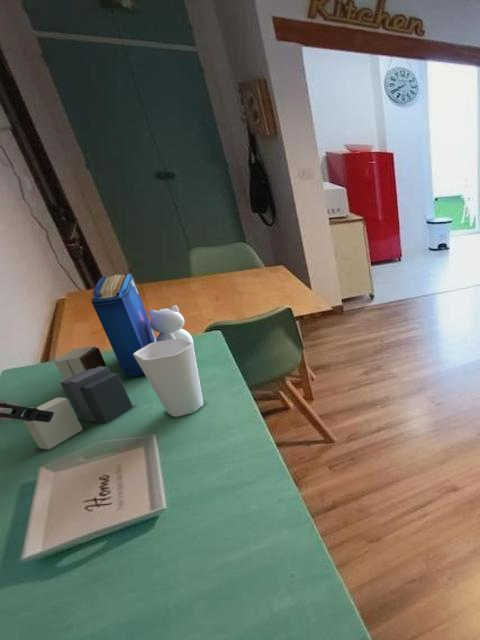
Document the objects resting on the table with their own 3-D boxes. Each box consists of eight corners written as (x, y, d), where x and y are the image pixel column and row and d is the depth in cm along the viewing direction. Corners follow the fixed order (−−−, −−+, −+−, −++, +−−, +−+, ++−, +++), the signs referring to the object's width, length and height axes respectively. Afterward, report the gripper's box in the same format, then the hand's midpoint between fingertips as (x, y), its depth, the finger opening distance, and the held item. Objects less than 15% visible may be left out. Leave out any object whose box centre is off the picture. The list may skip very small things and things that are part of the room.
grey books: (77, 419, 100) (57, 380, 96) (108, 403, 107) (90, 365, 102) (105, 423, 99) (85, 383, 95) (134, 406, 106) (117, 368, 101)
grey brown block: (68, 390, 111) (53, 359, 107) (85, 376, 118) (72, 347, 114) (96, 387, 113) (82, 357, 109) (112, 374, 119) (99, 346, 115)
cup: (155, 425, 99) (128, 363, 92) (161, 403, 107) (137, 344, 100) (211, 412, 105) (190, 352, 97) (213, 392, 112) (194, 335, 105)
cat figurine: (193, 342, 138) (178, 300, 132) (199, 356, 130) (184, 312, 123) (158, 350, 133) (142, 306, 126) (163, 365, 124) (145, 319, 118)
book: (155, 375, 119) (122, 292, 108) (122, 382, 116) (85, 297, 105) (159, 346, 135) (131, 271, 124) (131, 351, 132) (99, 275, 121)
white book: (39, 448, 91) (20, 415, 87) (74, 428, 97) (57, 397, 94) (49, 449, 91) (30, 416, 87) (83, 429, 97) (67, 398, 93)
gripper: (-28, 383, 74) (70, 401, 89) (-93, 375, 76) (15, 394, 91) (-52, 426, 71) (53, 436, 87) (-119, 416, 73) (-4, 428, 88)
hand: (33, 414), depth 89 cm, fingers open, 8 cm apart
